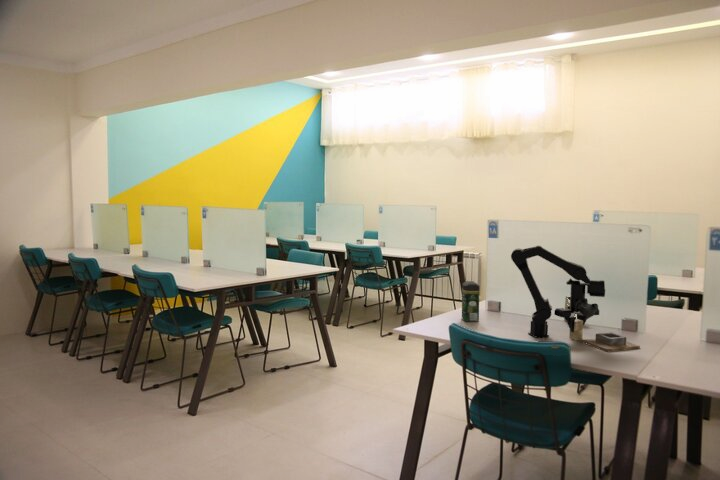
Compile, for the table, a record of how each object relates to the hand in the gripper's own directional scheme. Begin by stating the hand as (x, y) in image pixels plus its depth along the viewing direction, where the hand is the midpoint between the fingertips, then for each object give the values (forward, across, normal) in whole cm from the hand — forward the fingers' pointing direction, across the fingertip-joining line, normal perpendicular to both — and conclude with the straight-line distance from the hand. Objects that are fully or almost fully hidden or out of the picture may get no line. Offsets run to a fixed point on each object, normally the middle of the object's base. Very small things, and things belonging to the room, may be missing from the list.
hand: (576, 331), depth 228 cm
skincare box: (+3, +20, +27) cm, 34 cm away
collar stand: (+3, +7, -12) cm, 14 cm away
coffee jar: (+3, -26, +43) cm, 50 cm away
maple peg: (+3, 0, 0) cm, 3 cm away
